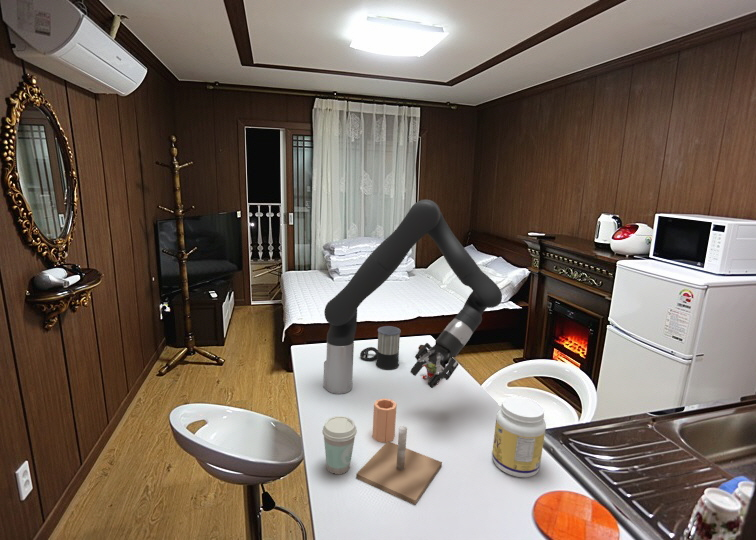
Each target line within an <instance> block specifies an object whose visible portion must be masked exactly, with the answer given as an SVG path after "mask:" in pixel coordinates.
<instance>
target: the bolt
mask: <svg viewBox="0 0 756 540" xmlns="http://www.w3.org/2000/svg"><path fill="white" fill-rule="evenodd" d="M424 345H425V344H419V345H418V348H417V349H418V352H419V351H420V350H421V349H422V347H423V346H424ZM422 355H423V354H421V355H420V357H421V356H422ZM428 358H429V357H428ZM424 361H425V360H424Z"/></svg>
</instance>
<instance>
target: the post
mask: <svg viewBox="0 0 756 540" xmlns="http://www.w3.org/2000/svg"><path fill="white" fill-rule="evenodd" d="M407 434H408V428H407V427H406V426H405V425H403V426H402V425H401V426H399V427H398V434H397V435H398V437H397V444H396V443H394V442H392V441H390V442H389V441H387V442H386V443H384V445H383V446H382V447H381V448H380V449H378V450H377V452H376V453H375V454H374V455H373V456H372V457H371V458H370V459H368V461H367V462H365V464H364V465H363V466H362V467H361V468H360V469H359V470H358V472H356V473H355V474H356V476H355V478H356V479H357V478H358V479H357V480H359V479H360V480H359V481H361V482H363V483H366V484H368V485H371V486H373V487H375V488H377V489H379V490H382V491H384V492H386V493H387V494H391V495H393V496H395V497H397V498H398V499H401V500H404V501H405V502H408V503H410V504H412V505H414V506H415V505H416V504H417V503H418V501H419V500H420V498H422V495H423V494H424V493H425V491H426V490H427V488H428V487H429V485H430V484H431V482H432V481H433V480H434V478H435V477H436V475H437V474H438V472H439V471H440V470H441V468H442V465H443V464H442V463H443V462H442V461H439V460H437V459H435V458H432V457H430V456H427V455H424V454H422V453H420V452H418V451H414V450H412V449H409V448H407V446H406V445H407V437H408V435H407Z"/></svg>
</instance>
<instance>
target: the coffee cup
mask: <svg viewBox="0 0 756 540" xmlns="http://www.w3.org/2000/svg"><path fill="white" fill-rule="evenodd" d="M321 431H322V432H321V433H322V435H323V441H324V451H325V452H324V453H325V461H326V469H327V471H328V470H329V471H330V473H331V472H332V473H331V474H333V473H335V474H334V475H343V474H345V472H346V473H348V471H349V470H350V468H351V463H352V455H353V451H354V450H353V449H354V445H355V444H354V443H355V437H356V435H357V433H358V430H357V426H356V424H355V421H354V420H353V419H352V418H350V417H349V416H348V417H347V416H343V415H340V416H339V415H337V416H332V417H330V418H328V419H327V420H326V421H325V422H324V425H323V426H322V430H321ZM348 469H349V470H348ZM329 471H328V472H329ZM342 473H343V474H342Z"/></svg>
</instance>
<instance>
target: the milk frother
mask: <svg viewBox="0 0 756 540" xmlns="http://www.w3.org/2000/svg"><path fill="white" fill-rule="evenodd" d="M377 332H378V333H377V348H376V347H372V346H370V347H366V348H364V349H362V350H361V352H360V353H359V356H360V358H361V359H362V360H363V361H374V360H376V361H375V367H377V368H379V369H382V370H387V371H388V370H389V371H390V370H391V371H392V370H397V369H398V368H399V366H400V363H399V359H400V357H399V355H400V342H401V340H400V339H401V338H400V337H401V333H402V332H401V329H400V328H399V327H397V326H390V325H385V326H380V327H378V328H377ZM370 352H374V353H375V354H374V356H372V357H368V355H369V353H370Z"/></svg>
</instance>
